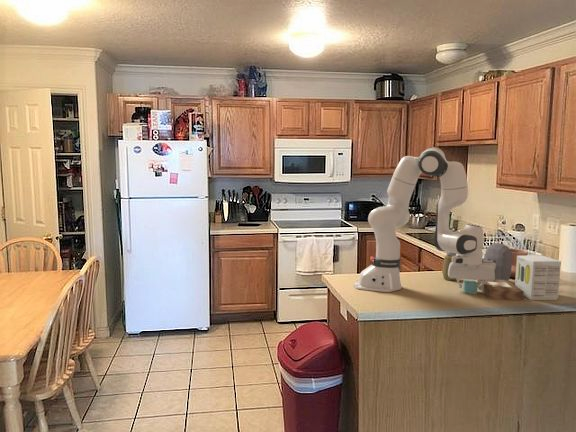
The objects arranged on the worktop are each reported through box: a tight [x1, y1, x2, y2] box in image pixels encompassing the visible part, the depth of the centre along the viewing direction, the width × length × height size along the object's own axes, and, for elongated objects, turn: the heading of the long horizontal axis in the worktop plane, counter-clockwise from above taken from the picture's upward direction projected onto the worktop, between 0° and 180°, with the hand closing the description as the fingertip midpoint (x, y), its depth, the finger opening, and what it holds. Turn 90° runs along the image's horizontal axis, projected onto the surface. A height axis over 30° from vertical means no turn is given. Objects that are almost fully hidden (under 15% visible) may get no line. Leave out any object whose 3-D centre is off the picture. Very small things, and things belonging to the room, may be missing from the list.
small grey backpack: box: [483, 242, 512, 281], centre depth 238 cm, size 15×8×20 cm, turn 27°
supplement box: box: [514, 255, 562, 301], centre depth 213 cm, size 13×13×18 cm
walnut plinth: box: [477, 279, 524, 301], centre depth 217 cm, size 14×20×4 cm
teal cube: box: [462, 279, 478, 295], centre depth 219 cm, size 5×5×5 cm
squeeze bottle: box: [441, 252, 457, 281], centre depth 241 cm, size 8×8×18 cm
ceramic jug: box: [509, 248, 529, 279], centre depth 250 cm, size 18×14×14 cm
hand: (470, 288), depth 219 cm, fingers open, 7 cm apart
